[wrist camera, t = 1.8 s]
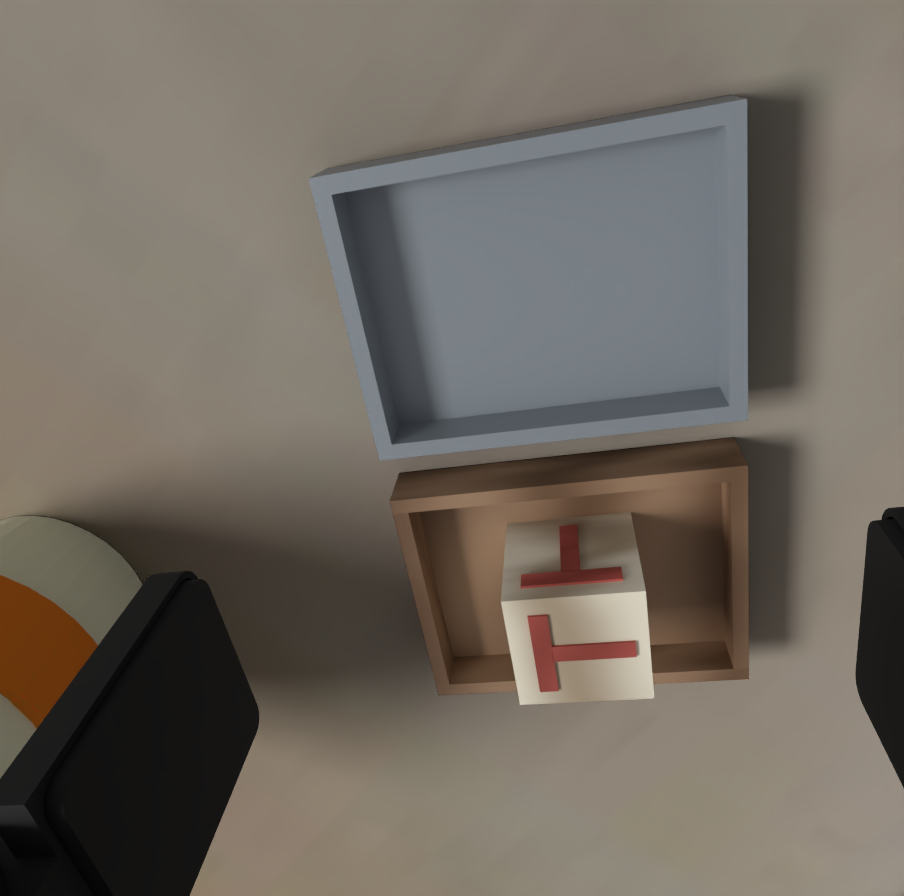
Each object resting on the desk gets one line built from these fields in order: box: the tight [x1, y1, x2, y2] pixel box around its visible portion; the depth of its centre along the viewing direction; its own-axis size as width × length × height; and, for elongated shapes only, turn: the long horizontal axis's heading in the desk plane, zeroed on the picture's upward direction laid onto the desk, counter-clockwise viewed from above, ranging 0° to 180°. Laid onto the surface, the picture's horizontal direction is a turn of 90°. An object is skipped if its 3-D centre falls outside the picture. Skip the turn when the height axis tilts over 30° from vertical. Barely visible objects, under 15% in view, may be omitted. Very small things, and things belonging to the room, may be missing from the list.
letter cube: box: [501, 512, 654, 705], centre depth 29 cm, size 5×5×5 cm
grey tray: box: [309, 95, 748, 460], centre depth 26 cm, size 13×10×2 cm
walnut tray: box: [390, 438, 749, 695], centre depth 31 cm, size 13×10×2 cm
